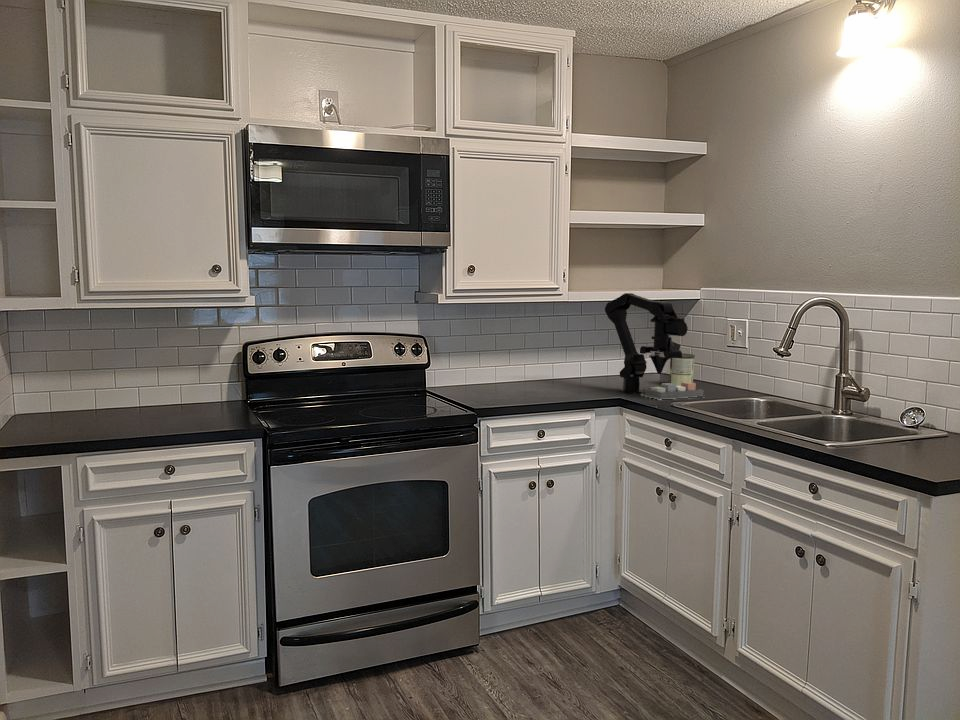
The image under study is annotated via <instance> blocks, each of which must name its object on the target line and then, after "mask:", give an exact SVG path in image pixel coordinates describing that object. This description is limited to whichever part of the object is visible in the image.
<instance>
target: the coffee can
mask: <svg viewBox="0 0 960 720" xmlns="http://www.w3.org/2000/svg"><path fill="white" fill-rule="evenodd" d="M695 357H696V355H695V354H692V353H683V352H682V358H670V360H669V362H670V363H669V374H668V375H669V376H668V377H669V378H668V383H671V384H676V386H681V382H691V383H694V373H695V372H694V370H695Z"/></svg>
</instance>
